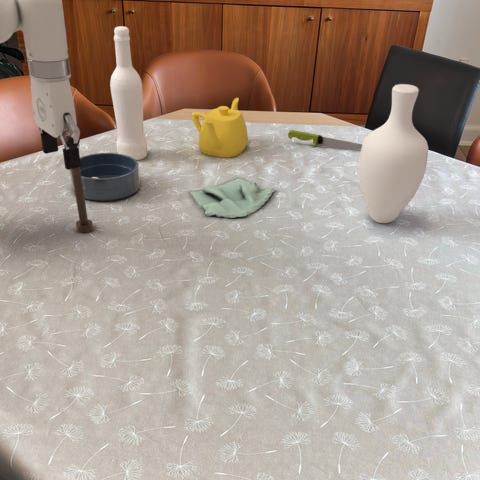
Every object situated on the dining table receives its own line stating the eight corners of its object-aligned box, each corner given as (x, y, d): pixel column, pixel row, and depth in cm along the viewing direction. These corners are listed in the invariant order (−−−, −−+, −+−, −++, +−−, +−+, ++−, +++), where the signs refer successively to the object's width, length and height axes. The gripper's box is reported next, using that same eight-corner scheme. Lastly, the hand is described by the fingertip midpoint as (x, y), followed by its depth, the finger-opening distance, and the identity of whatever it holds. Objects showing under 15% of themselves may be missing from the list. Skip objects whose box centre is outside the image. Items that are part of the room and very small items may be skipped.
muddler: (81, 234, 141) (70, 165, 131) (73, 228, 143) (62, 159, 133) (96, 230, 143) (86, 161, 132) (88, 224, 145) (78, 155, 135)
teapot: (207, 131, 189) (207, 91, 181) (258, 138, 185) (259, 98, 177) (176, 158, 174) (174, 115, 166) (230, 167, 170) (230, 123, 162)
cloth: (201, 221, 147) (200, 211, 145) (186, 182, 162) (186, 172, 161) (288, 215, 150) (289, 204, 148) (266, 177, 166) (266, 167, 164)
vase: (362, 201, 156) (381, 73, 137) (421, 214, 152) (450, 83, 132) (341, 225, 146) (360, 91, 127) (404, 240, 142) (432, 103, 123)
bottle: (111, 156, 173) (96, 27, 153) (131, 147, 178) (119, 21, 158) (134, 164, 170) (121, 33, 150) (154, 154, 175) (145, 26, 154)
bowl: (93, 208, 151) (90, 185, 147) (61, 185, 160) (57, 162, 156) (152, 191, 158) (151, 168, 154) (118, 169, 167) (116, 147, 163)
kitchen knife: (365, 155, 181) (368, 144, 179) (365, 156, 180) (367, 145, 178) (287, 140, 183) (289, 129, 181) (286, 141, 182) (288, 130, 180)
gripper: (10, 58, 125) (26, 149, 136) (51, 82, 115) (64, 178, 127) (47, 54, 128) (59, 143, 140) (89, 77, 119) (98, 170, 130)
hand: (61, 159), depth 133 cm, fingers open, 9 cm apart
